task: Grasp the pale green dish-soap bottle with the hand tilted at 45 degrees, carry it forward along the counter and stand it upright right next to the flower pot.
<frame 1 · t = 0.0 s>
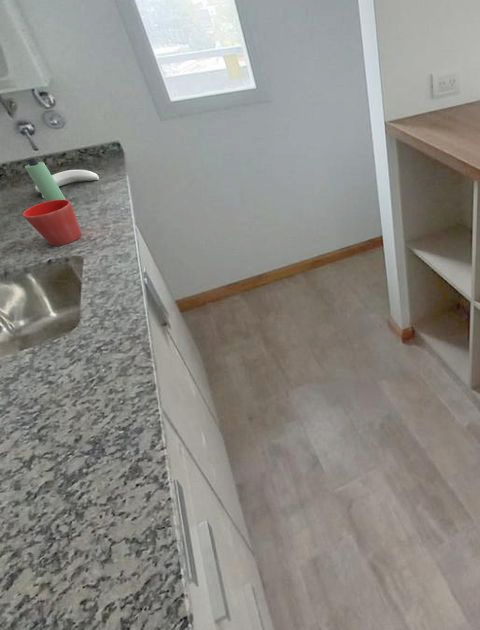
soap bottle: (57, 202, 148), on the countertop
flower pot: (67, 240, 125), on the countertop
banana: (70, 188, 160), on the countertop
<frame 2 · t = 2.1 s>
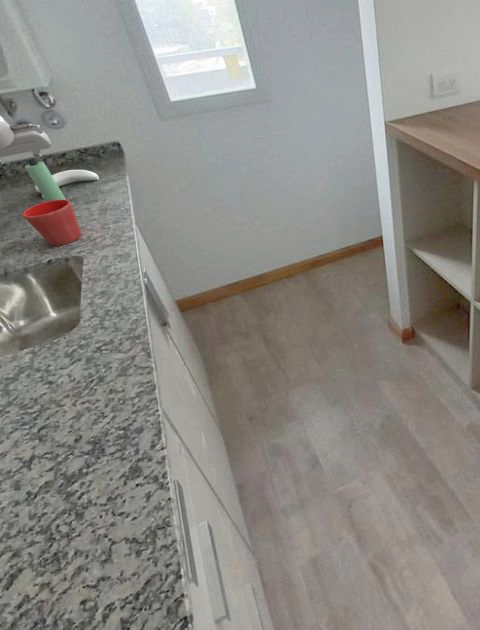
hand: (19, 158, 128), 18 cm above the countertop, tool tilted 45°, fingers open, 8 cm apart
nothing on the countertop moved.
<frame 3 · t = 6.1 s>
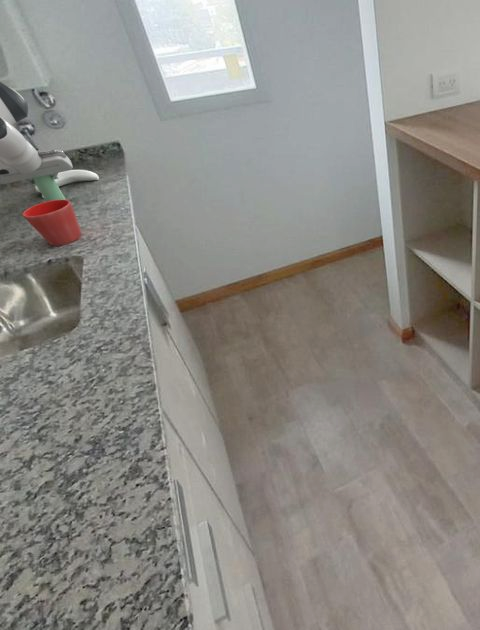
hand: (43, 179, 144), 8 cm above the countertop, tool tilted 45°, fingers closed on soap bottle, 5 cm apart
soap bottle: (57, 202, 148), on the countertop, touching gripper
everything else where it was.
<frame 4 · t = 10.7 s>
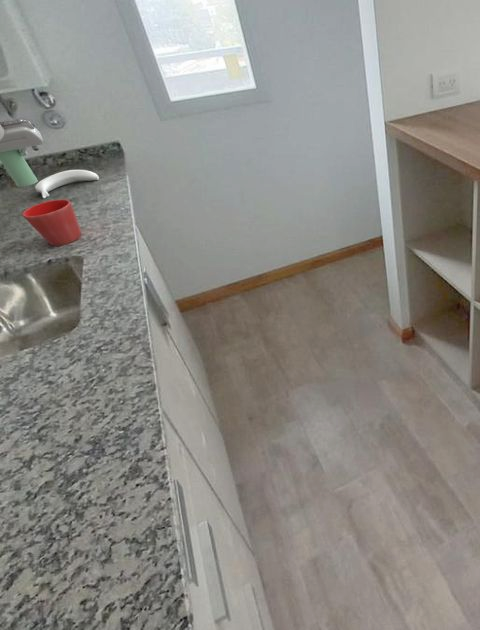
hand: (10, 156, 125), 20 cm above the countertop, tool tilted 45°, fingers closed on soap bottle, 5 cm apart
soap bottle: (27, 183, 130), point 12 cm above the countertop, touching gripper
everything else where it was.
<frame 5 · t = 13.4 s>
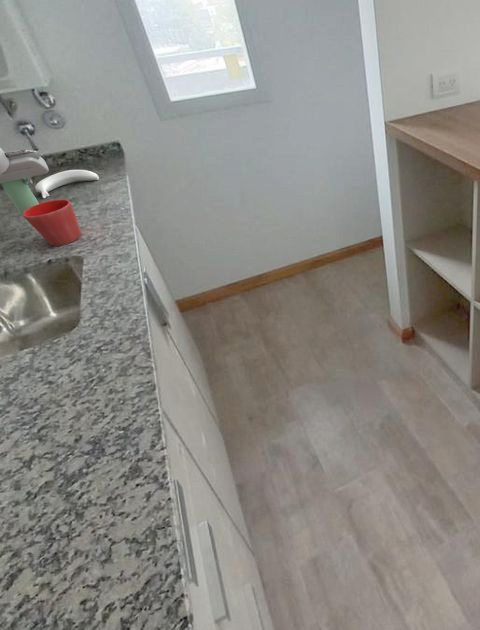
hand: (14, 184, 122), 14 cm above the countertop, tool tilted 45°, fingers closed on soap bottle, 5 cm apart
soap bottle: (32, 212, 126), point 6 cm above the countertop, touching gripper
everything else where it was.
when the fingers open (8 cm above the countertop, at t = 15.7 s): soap bottle stays where it is, on the countertop.
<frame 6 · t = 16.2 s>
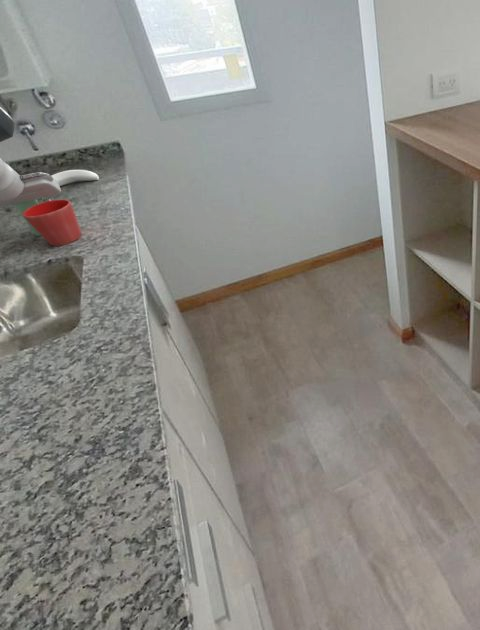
hand: (28, 205, 125), 8 cm above the countertop, tool tilted 45°, fingers open, 8 cm apart
soap bottle: (45, 231, 130), on the countertop
everything else where it was.
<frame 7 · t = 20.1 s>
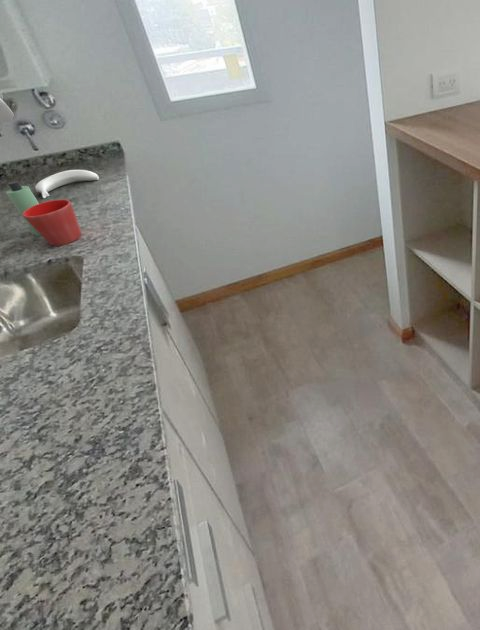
nothing on the countertop moved.
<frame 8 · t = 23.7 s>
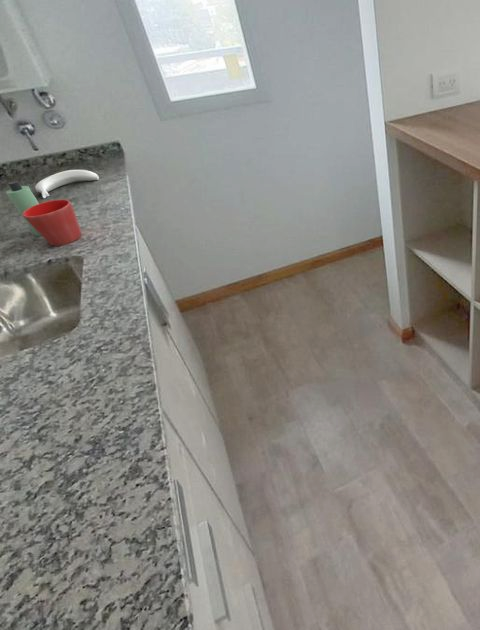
nothing on the countertop moved.
at the end: soap bottle 12.5 cm from the flower pot (horizontally); soap bottle tilted 0°; soap bottle moved 25.1 cm from its start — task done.
